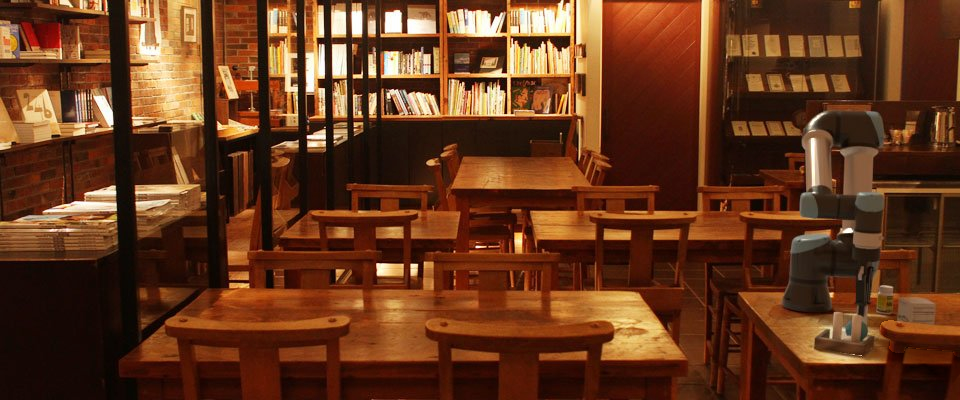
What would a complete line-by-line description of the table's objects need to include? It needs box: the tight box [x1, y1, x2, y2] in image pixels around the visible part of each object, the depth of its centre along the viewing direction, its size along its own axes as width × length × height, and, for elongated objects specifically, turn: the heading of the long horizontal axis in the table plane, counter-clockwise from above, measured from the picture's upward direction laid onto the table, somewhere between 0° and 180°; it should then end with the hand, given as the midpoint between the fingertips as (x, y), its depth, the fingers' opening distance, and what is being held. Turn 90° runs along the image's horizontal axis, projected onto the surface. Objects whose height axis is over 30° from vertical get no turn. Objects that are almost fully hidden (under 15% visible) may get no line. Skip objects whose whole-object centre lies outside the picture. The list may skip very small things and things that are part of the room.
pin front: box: [842, 336, 851, 342], centre depth 284 cm, size 2×2×9 cm
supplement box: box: [896, 296, 937, 326], centre depth 288 cm, size 7×7×13 cm
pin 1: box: [831, 311, 844, 340], centre depth 286 cm, size 2×2×9 cm
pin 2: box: [851, 314, 862, 343], centre depth 283 cm, size 2×2×9 cm
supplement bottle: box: [876, 285, 895, 315], centre depth 325 cm, size 5×5×8 cm
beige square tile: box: [841, 330, 879, 343], centre depth 294 cm, size 10×10×1 cm
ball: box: [844, 320, 869, 341], centre depth 290 cm, size 6×6×6 cm
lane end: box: [813, 328, 876, 357], centre depth 283 cm, size 13×12×3 cm
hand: (861, 326), depth 299 cm, fingers closed
